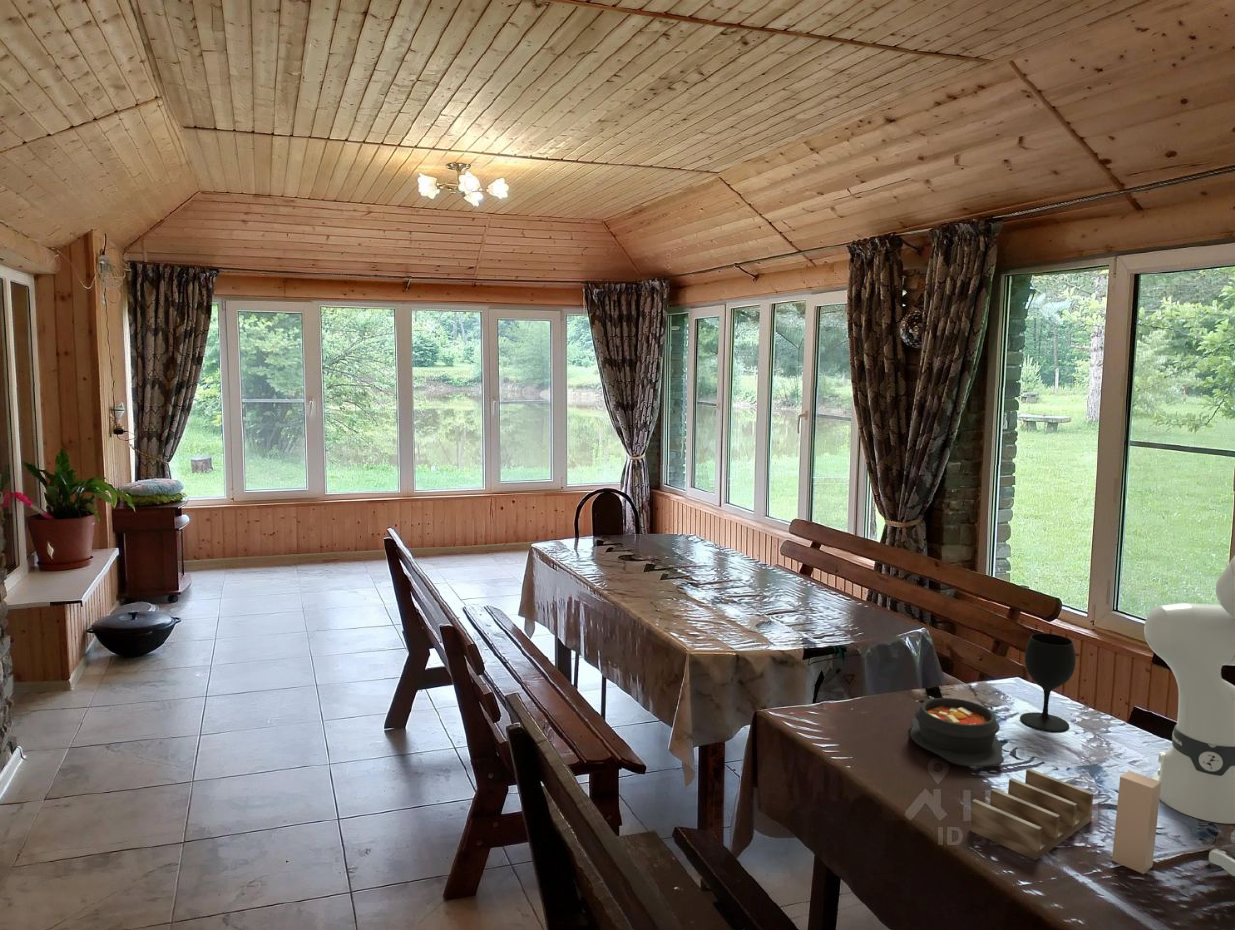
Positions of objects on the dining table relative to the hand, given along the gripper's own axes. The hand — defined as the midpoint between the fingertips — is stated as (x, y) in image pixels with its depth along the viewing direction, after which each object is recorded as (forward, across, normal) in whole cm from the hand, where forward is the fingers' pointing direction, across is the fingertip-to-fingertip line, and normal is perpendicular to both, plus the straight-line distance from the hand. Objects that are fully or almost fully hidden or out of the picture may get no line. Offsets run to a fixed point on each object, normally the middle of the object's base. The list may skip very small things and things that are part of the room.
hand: (1221, 844), depth 141 cm
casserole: (+55, -17, +9) cm, 58 cm away
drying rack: (+29, +1, +9) cm, 30 cm away
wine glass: (+49, -46, +8) cm, 68 cm away
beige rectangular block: (+12, 0, +9) cm, 16 cm away
